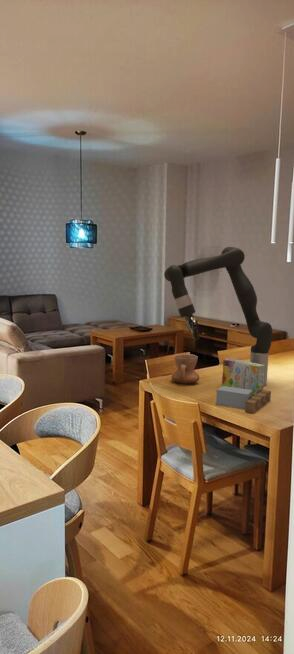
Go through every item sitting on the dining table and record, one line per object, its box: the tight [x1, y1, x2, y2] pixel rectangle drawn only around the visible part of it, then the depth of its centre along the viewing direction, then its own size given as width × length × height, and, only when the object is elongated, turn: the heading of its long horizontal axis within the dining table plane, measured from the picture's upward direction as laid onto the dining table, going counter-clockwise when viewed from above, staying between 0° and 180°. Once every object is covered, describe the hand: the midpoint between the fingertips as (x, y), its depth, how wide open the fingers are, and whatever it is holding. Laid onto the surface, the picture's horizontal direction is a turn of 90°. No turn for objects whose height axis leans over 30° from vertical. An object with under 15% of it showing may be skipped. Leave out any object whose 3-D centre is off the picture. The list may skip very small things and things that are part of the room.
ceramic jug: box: [171, 353, 200, 385], centre depth 247 cm, size 18×14×14 cm
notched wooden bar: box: [244, 389, 272, 415], centre depth 211 cm, size 24×4×4 cm, turn 148°
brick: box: [215, 385, 253, 410], centre depth 212 cm, size 8×14×7 cm, turn 64°
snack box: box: [221, 357, 265, 397], centre depth 234 cm, size 21×6×15 cm, turn 44°
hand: (197, 339), depth 227 cm, fingers closed
